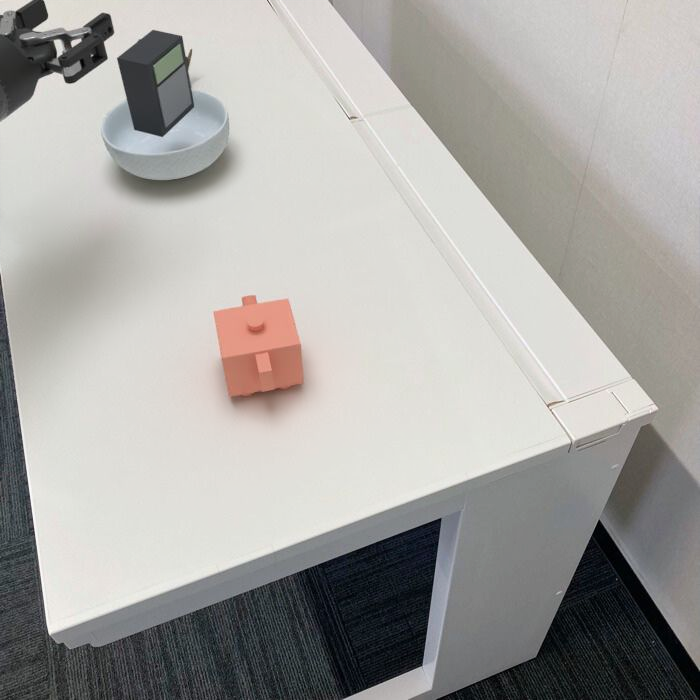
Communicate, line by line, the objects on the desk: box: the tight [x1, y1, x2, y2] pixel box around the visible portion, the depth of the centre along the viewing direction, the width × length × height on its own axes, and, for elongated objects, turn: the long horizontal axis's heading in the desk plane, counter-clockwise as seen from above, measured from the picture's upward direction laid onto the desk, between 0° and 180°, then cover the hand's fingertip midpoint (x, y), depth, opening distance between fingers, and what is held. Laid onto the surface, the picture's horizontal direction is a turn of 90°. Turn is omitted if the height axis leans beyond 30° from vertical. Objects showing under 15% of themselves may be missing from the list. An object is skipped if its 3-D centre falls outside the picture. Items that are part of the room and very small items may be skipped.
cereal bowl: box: [100, 88, 230, 181], centre depth 106 cm, size 17×17×7 cm
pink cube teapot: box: [213, 294, 305, 398], centre depth 80 cm, size 8×12×8 cm, turn 14°
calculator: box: [116, 29, 194, 137], centre depth 99 cm, size 5×8×10 cm, turn 157°
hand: (76, 14), depth 82 cm, fingers open, 8 cm apart
